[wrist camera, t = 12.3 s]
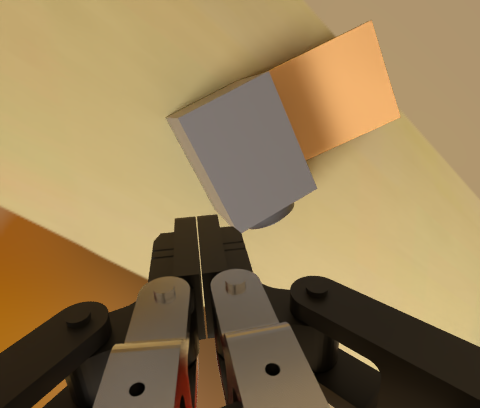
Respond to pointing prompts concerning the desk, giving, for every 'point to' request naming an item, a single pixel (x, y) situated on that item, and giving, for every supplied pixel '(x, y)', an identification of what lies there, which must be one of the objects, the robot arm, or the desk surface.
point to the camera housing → (244, 152)
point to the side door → (336, 91)
